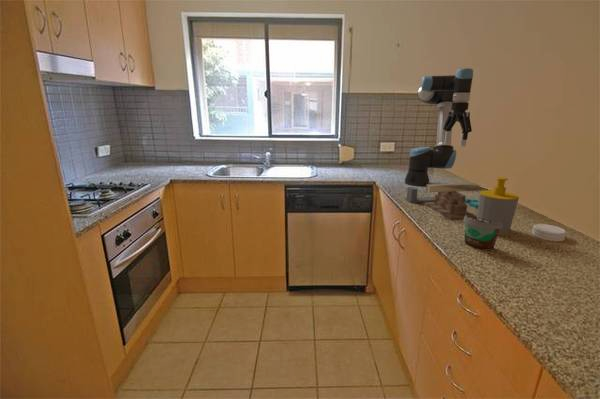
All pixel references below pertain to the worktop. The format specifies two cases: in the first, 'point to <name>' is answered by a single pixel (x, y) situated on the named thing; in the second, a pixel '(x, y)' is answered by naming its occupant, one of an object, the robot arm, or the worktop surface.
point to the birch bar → (451, 187)
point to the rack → (413, 196)
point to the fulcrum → (450, 205)
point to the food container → (481, 232)
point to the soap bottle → (498, 206)
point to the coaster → (548, 232)
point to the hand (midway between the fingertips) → (454, 144)
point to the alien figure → (472, 202)
